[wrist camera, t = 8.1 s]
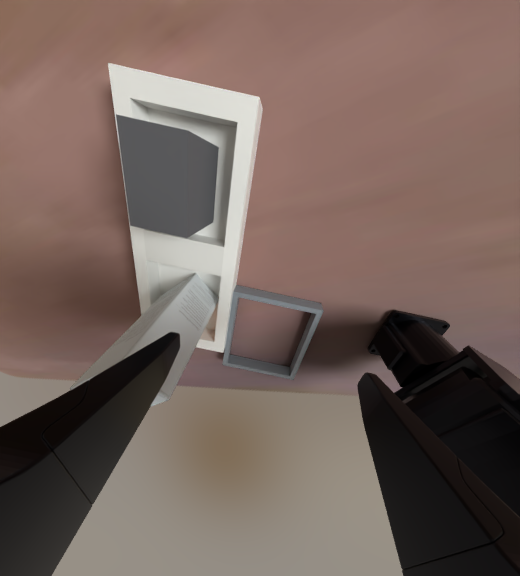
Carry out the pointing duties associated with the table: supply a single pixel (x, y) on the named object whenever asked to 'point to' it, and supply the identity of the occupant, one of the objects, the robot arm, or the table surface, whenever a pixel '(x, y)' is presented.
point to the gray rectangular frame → (277, 300)
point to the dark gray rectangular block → (167, 177)
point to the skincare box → (164, 331)
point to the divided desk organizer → (228, 198)
